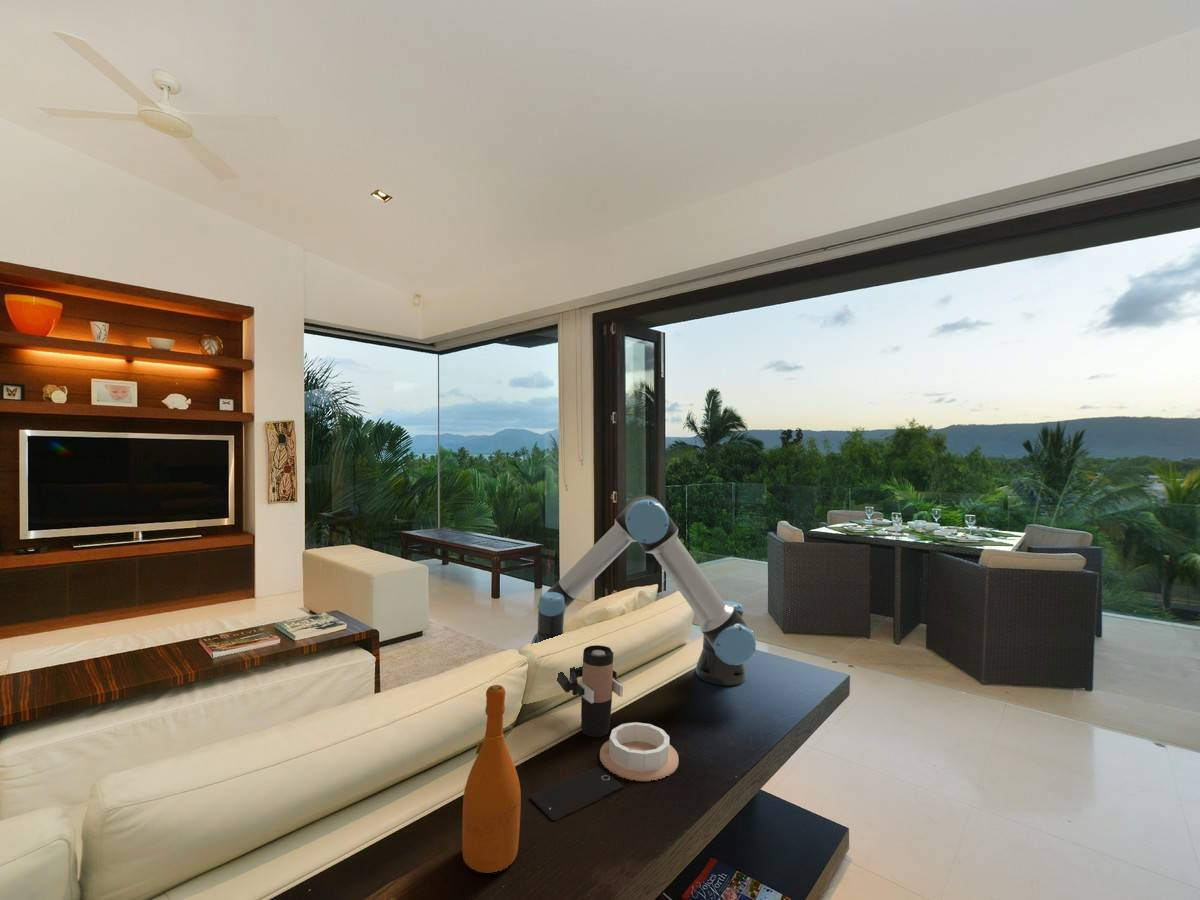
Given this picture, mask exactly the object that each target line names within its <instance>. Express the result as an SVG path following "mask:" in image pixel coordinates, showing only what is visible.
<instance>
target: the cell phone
mask: <svg viewBox="0 0 1200 900" xmlns="http://www.w3.org/2000/svg"><path fill="white" fill-rule="evenodd" d="M621 789H622V790H623V789H624V784H623V783H621V782H619V780H617V779H616V778H615V777H614V776H612V775H611V774H609V773H607V772H606V771H605V770H603V769H602V768H601V767H599V766H595V767H593V768H591V769H587V770H586V771H584V772H581V773H579V774H577V775H574V776H572V777H570V778H567V779H565V780H563V781H561V782H558V783H556V784H554V785H551V786H549V787H547V788H544V789H543V790H540V791H538V792H536V793H533V794H531V795H530V796H529V799H530V798H531V800H533V801H534V802H535V803H536V804H537V805H538V806H540V808H542V809H543V810H545V812H547V813H548V814H549V813H550V814H549V816H551V817H552V818H554V819H555V818H558V817H559V816H560V815H561V816H562V815H564V814H567V813H568V811H572V810H570V808H569V806H566V805H567V804H572V805H573V806H574V807H575V808H578V807H577V806H575V804H573V803H571V802H570V801H568V800H571V801H574V802H575V803H576V804H577V805H579V806H581V805H584V804H587V803H589V802H592V801H594V800H597V799H599V798H601V797H605V796H607V795H609V794H611V793H614V792H616V791H618V790H620V791H621ZM575 791H577V792H575ZM570 792H573V793H570ZM618 792H619V791H618ZM568 793H570V794H571V795H570V794H568ZM582 793H583V794H582ZM616 793H617V792H616ZM614 794H615V793H614ZM581 795H582V796H581ZM611 795H612V794H611ZM570 796H571V797H572V798H567V797H570ZM573 796H577V797H573ZM609 796H610V795H609ZM607 797H608V796H607ZM577 798H581V799H577ZM605 798H606V797H605ZM572 799H576V800H572ZM531 800H530V801H531ZM564 800H565V801H564ZM582 800H583V801H582ZM577 801H579V802H577ZM585 802H587V803H585ZM561 803H562V804H561ZM581 803H583V804H581ZM559 808H562V809H559ZM560 810H562V811H560ZM561 812H562V813H561Z"/></svg>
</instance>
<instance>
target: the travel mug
mask: <svg viewBox="0 0 1200 900" xmlns="http://www.w3.org/2000/svg"><path fill="white" fill-rule="evenodd" d="M582 656H583V657H582V659H583V672H582V677H581V681H582V682H583V683H584V684H585V685H587V686H588V687H589V688H590V689H591V690H593V691H594V703H590V702H589V701H587V700H586V699H585V698H584V697H583V696H581V698H580V699H581V701H580V703H581V704H580V707H581V710H580V711H581V713H580V714H581V715H580V716H581V717H580V718H581V719H580V720H581V721H580V723H581V724H580V726H581V727H580V729H581V733H583V734H584V735H586V736H587V737H593V738H598V737H599V738H600V737H604V736H606V735H608V734H609V733H610V730H611V729H610V728H611V717H612V716H611V714H612V703H613V691H612V680H613V671H614V652H613V651H612V649H611V648H610V647H609V646H607V645H606V646H605V645H598V644H597V645H595V644H594V645H588V646H586V647H585V648H584V649H583V652H582Z"/></svg>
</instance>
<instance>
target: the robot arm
mask: <svg viewBox="0 0 1200 900" xmlns="http://www.w3.org/2000/svg"><path fill="white" fill-rule="evenodd" d="M678 534H679V528H678V526H677V525H676V524H675V522H674V521H673V519H672V518H671V517H670V515H669V514H668V512H667V510H666V509H665V507H664V506H663V505H662V504H661V502H660V501H659V500H658V499H657V498H656V497H654V496H651V495H649V494H641V495H637V496H636V497H633V498H632V499H631V500H630V501H629V503H628V504H627V505H626V506H625V507H624V509H622V511H621V513H619V515H618V516H616V517H615V519H614V525H612V526H611V528H609V530H608V531H607V532H606V533H605V534H604V535H603V536H602V537H601V538H599V540H598V541H596V543H595V544H594V545H593V546H592V547H591V548H590V549H589V550H587V552H586V553H585V554H584V555H583V556H582V557H581V558H580V559H579V560H578V561H577V562H576V563H575V564H574V565H572V567H571V568H570V569H569V570H568V571H567V572H566V573H565V574H564V575H563V576H562V577H561V578H560V579H559V580H558V582H556V583H555V584H554V585H552V586H551V587H550V588H549V589H548V590H547V591H546V592H543V593H541V594H540V595H539V597H538V603H537V604H538V605H537V632H536V633H535V634H534V635H533V637H532V641H531V645H532V644H533V643H538V642H541V641H543V640H546V639H549V638H553V637H555V636H558V635H561V634H563V635H564V626H565V623H564V621H565V614H566V610H567V608H568V607H569V606H570V605H571V604H572V603H573V602H574V601H575V600H576V599H577V598H578V597H579V596H580V595H581V594H582V593H583V592H584V591H585V590H586V589H587V587H588V586H589V585H591V584H592V583H593V582H594V581H595V580H596V579H597V578H598V577H599V575H600V574H601V573H603V571H605V570H606V568H608V566H610V565H611V563H612V562H614V561H615V560H616V559H617V557H619V556H620V555H621V553H622V552H623V551H624V550H625V549H627V548H628V546H629V545H631V543H636V542H637V543H638V545H639V546H640V547H641V548H642V550H643V551H644V553H646V554H652V555H653V557H655V559H656V561H657V562H658V563H659V565H660V566H661V568H662V569H663V570H664V572H665V573H666V574H667V576H668V577H669V579H670V580H671V581H672V583H673V584H674V586H675V587H676V588H677V590H678V591H679V593H680V595H682V597H683V598H684V600H685V601H686V602H687V604H688V605H689V606H690V608H691V609H692V611H693V613H694V614H695V615H696V617H697V618H698V619H699V621H700V624H699V629H700V631H701V633H702V634H703V635H702V636H703V638H702V639H703V640H702V649H701V652H700V655H699V658H698V659H697V662H696V666H695V669H696V670H695V674H696V676H697V677H698V678H699V679H700V680H702V681H704V682H707V683H710V684H714V685H719V686H737V685H740V684H742V683H744V682H745V681H746V679H747V673H746V668H745V663H746V662H749V660H750V659H751V658H752V657H753V655H754V654H755V651H756V648H757V647H756V646H757V643H756V642H757V641H756V637H755V634H754V632H753V631H752V630H751V629H750V627H749V626H748V625H747V623H746V622H745V621H744V618H743V617H744V615H743V614H744V607H743V604H741V603H739V602H737V601H736V602H735V601H730V600H723V599H722V597H721V596H720V595H719V593H718V592H717V590H716V589H715V588H714V587H713V585H712V583H711V582H710V581H709V579H708V578H707V576H706V575H705V574H704V572H703V571H702V569H701V568H700V566H699V564H698V563H697V562H696V561H695V560H694V558H693V556H691V555H692V554H690V552H689V551H688V549H687V548H686V547H685V545H684V544H683V543H682V541H681V539H679V537H678ZM582 672H583V666H582V667H579V668H576V669H575V667H573V668H570V678H569V679H568V678H567V677H566V676H565V675H564V673H563V672H560V673H558V678H557V680H556V681H557V683H558V684H559V686H560V687H561V688H562V690H563V691H564V692H565V693H570V691H572V696H577V695H579V696H583V697H584V698H585V699H586V700H587V701H589V702H590V703H594V691H593V690H591V689H590V688H589V687H588V686H587V685H585V684H584V683H583V682H582V680H580V681H578V678H582ZM617 675H618V673H617V671H615V670H613V680H612V693H614V694H615V695H617V696H618V697H623V691H624V690H623V689H624V685H623V684H621V682H620V681H619V680H617V678H618V677H617Z"/></svg>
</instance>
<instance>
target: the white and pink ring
mask: <svg viewBox="0 0 1200 900" xmlns="http://www.w3.org/2000/svg"><path fill="white" fill-rule="evenodd" d="M599 760H600V762H602V763H601V765H602V766H603V765H604V766H603V767H604V768H605V769H606V768H607V769H608V770H609V771H608V770H607V769H606V770H607V771H608V772H609V773H611V772H612V773H611V774H613V775H614V774H616V775H615V776H617V775H618V776H617V777H618V778H619V777H620V778H621V777H622V778H621V779H624V778H626V779H625V780H628V779H629V781H633V780H635V781H636V782H654V781H653V780H655V781H658V779H660V780H663V779H665V777H666V776H668V777H670V776H671V775H673V773H675V771H676V770H677V769H678V767H679V762H680V761H679V754H678V752H677V750H676V749H675V748H674V746H672V745H671V744H670V735H669V734H667V732H666V731H665V730H664V729H662V728H661V727H658V726H655V725H653V724H651V723H643V722H637V721H635V722H626V723H621V724H620V725H618V726H616V727H614V728H613V729H611V733H610V736H609V739H608V740H607V741H605V742H604V743H603V744H602V745H601V747H600V750H599ZM670 774H671V775H670ZM662 778H663V779H662ZM666 778H667V777H666ZM651 780H652V781H651Z"/></svg>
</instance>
